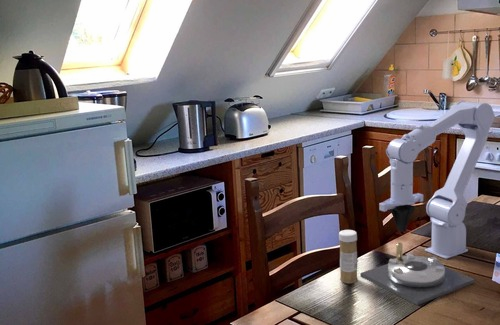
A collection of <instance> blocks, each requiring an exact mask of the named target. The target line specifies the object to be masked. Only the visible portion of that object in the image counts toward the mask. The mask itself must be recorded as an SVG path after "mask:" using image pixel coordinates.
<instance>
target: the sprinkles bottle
mask: <svg viewBox="0 0 500 325" xmlns="http://www.w3.org/2000/svg"><path fill="white" fill-rule="evenodd" d="M338 240H339V269H340V279H339V280H340V281H341V282H342V283H344V284H354V283H356V282H357V281H358V251H357V250H358V248H357V241H358V234H357V231H355V230H353V229H344V230H340V231H339V233H338Z"/></svg>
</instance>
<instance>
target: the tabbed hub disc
mask: <svg viewBox="0 0 500 325" xmlns="http://www.w3.org/2000/svg"><path fill="white" fill-rule="evenodd" d="M395 245H396V246H395V247H396V248H395V250H396V254H395V255H396V257H395V258H390V259H389V260H388V263H387V264H388V276H389V278H390V279H391V280H393V281H394V282H396V283H399V284H401V285H405V286H410V287H431V286H435V285H438V284H440V283H442V282H443V281H444V278H445V266H444V264H443V263H442V262H440V261H439V260H438V257H435V256H431V257H427V256H423V255H421V256H420V255H416V256H413V253H412V252H411V253H410V252H409V253H406V255H404V256H403V254H404V253H403V252H404V251H403V248H404V247H403V242H396V244H395Z"/></svg>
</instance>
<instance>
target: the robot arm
mask: <svg viewBox="0 0 500 325" xmlns="http://www.w3.org/2000/svg"><path fill="white" fill-rule="evenodd" d="M495 118H496V116H495V113H494V110H493V107H492V105H491V104H489V103H487V102H471V101H466V100H460V101H458V102H456V103H455V104H452V105H451V107H450V109H448V111H446V112H445V113H443V114H442V115H440V116H439V117H438V118H437V119H436V120H434V121H433V122H432V123H430V124H418V125H416V126H415V129H413V130H411V131H410V132H408V133H405V134H403V135H402V137H401V138H394V139H392V140H391V141H390V142H389V144H388V145H387V148H386V149H385V154H386V156H387V157H388V159H389V164H390V198H388V199H386V200H384V201H383V202H379V211H381V212H387V211H388V210H389V212H390V213H391V215H392V217H393V220H394V222H395V227H396V230H397V231H398V232H401V233H404V232H407V229H408V225H409V222H410V219H411V217H412V215H413V213H414V211H415V210H416V206H415V204H416V203H417V202H420V203H422V202H424V194H422V193H419V192H417V193H413V192H414V191H413V188H414V187H413V186H414V182H413V181H414V180H413V179H414V176H413V175H414V174H413V173H414V168H413V167H414V162H415V160H416V159H417V157H418V155H419V153H421V152H422V151H423V150H424V149H426V148H428V147H429V146H431V145H432V144H434V143H435V142H436V138H437V136H439V135H440V134H442V133H444V132H446V131H447V130H449V129H451V128H453V127H454V126H456V125H457V126H458V127H459V128H460V130H461V131H462V132H463V133H464V137H465V139H464V140H463V143H462V145H461V148H460V150H458V154H457V156H456V159H455V161H454V163H453V166H452V168H451V169H450V172H449V174H448V176H447V179H446V182H445V183H444V186H443V187H442V188H440V189H438V190H436V191H435V192H434V194H433V196H432V197H431V198H430V199H429V200H428V201H427V203H426V207H425V209H426V210H425V211H426V214H427V215H428V216H429V217H430V220H429V221H431V246H430V247H427V248H425V249H424V251H425V252H427V253H430V254H433V255H434V256H438V257H440V258H442V259H450V258H453V257H456V256H458V255H461V254H464V253H467V252H468V251H469V249H468V248H466V247H467V227H466V225H465V224H464V222H463V221H464V220H465V216H466V208H467V206H468V201H467V200H466V198H465V197H464V193H465V191H466V188H467V186H468V183H469V181H470V179H471V177H472V174H473V172H474V170H475V168H476V165H477V163H478V161H479V159H480V156H481V154H482V152H483V149H484V147H485V146H486V142H487V140H488V137H489V132H490V130H491V127H492V125H493V122H494V120H495Z"/></svg>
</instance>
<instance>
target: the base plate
mask: <svg viewBox="0 0 500 325" xmlns="http://www.w3.org/2000/svg"><path fill="white" fill-rule="evenodd" d="M412 255H413V254H412ZM413 256H417V255H415V254H414V255H413ZM444 267H445V266H444ZM359 274H360V276H359V277H360V278H363V279H365V280H366V279H367V281H368V280H369V282H370V281H371V282H370V283H372V282H373V283H372V284H375V285H377V286H378V287H380V288H383V289H384V290H387V291H389V292H390V293H392V294H394V295H396V296H398V297H400V298H402V299H405V300H406V301H408V302H410V303H411V304H414V305H416V306H420V305H422V304H425V303H427V302H429V301H432V300H434V299H437V298H441V297H442V296H445V295H448V294H449V293H452V292H455V291H457V290H460V289H463V288H465V287H467V286H470V285H472V284H475V278H472V277H470V276H467V275H466V274H463V273H460V272H458V271H455V270H453V269H451V268H447V267H445V278H444V281H443V282H442V283H440V284H438V285H435V286H431V287H410V286H405V285H401V284H399V283H396V282H394V281H393V280H391V279H390V278H389V276H388V263H386V264H383V265H380V266H378V267H373V268H371V269H368V270H365V271H362V272H359Z"/></svg>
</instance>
